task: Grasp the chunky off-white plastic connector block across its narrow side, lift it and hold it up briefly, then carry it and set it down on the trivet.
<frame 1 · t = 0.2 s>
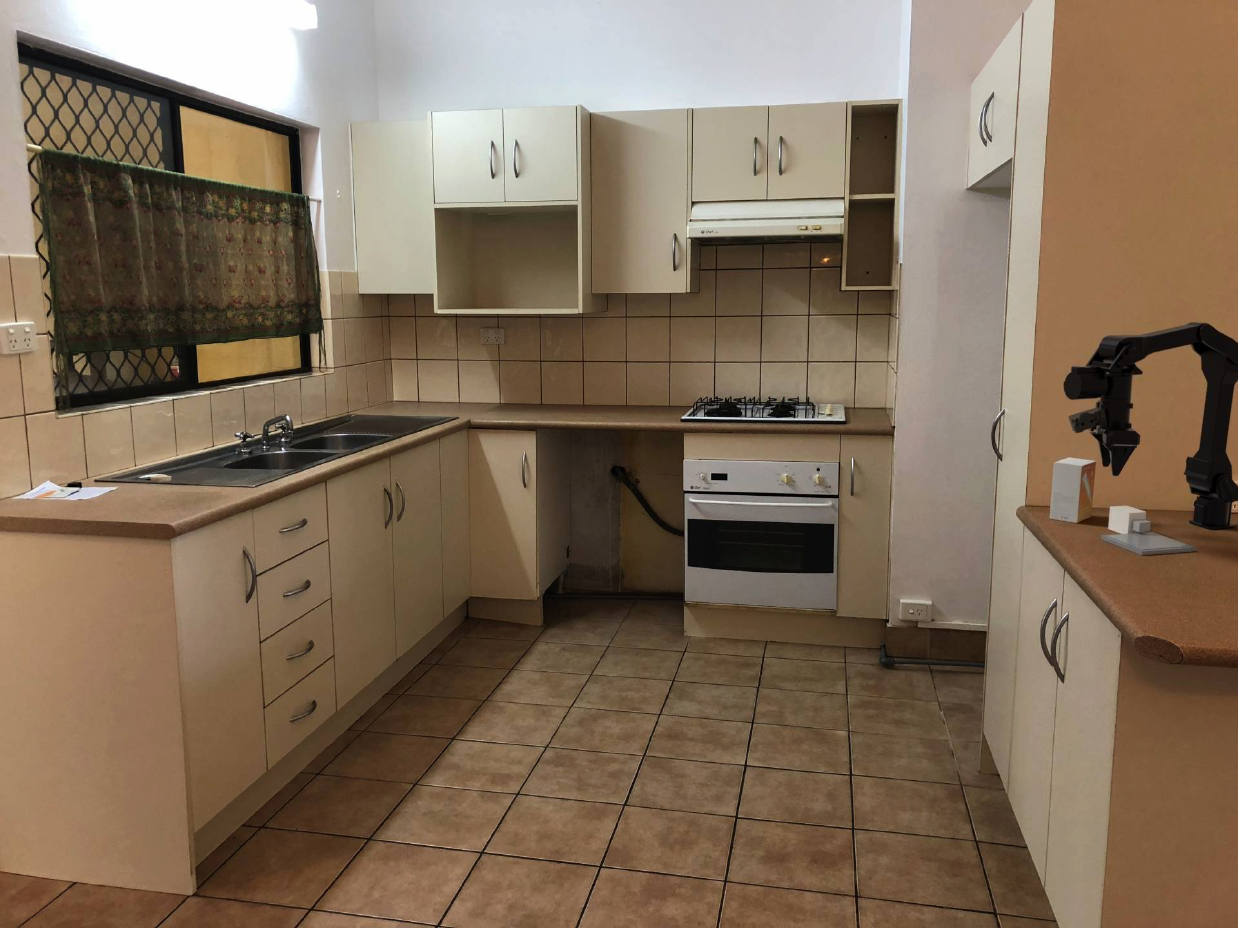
hand: (1110, 471, 207), 13 cm above the countertop, fingers open, 9 cm apart
connector: (1126, 532, 211), on the countertop
small box: (1070, 518, 223), on the countertop
trivet: (1146, 545, 201), on the countertop
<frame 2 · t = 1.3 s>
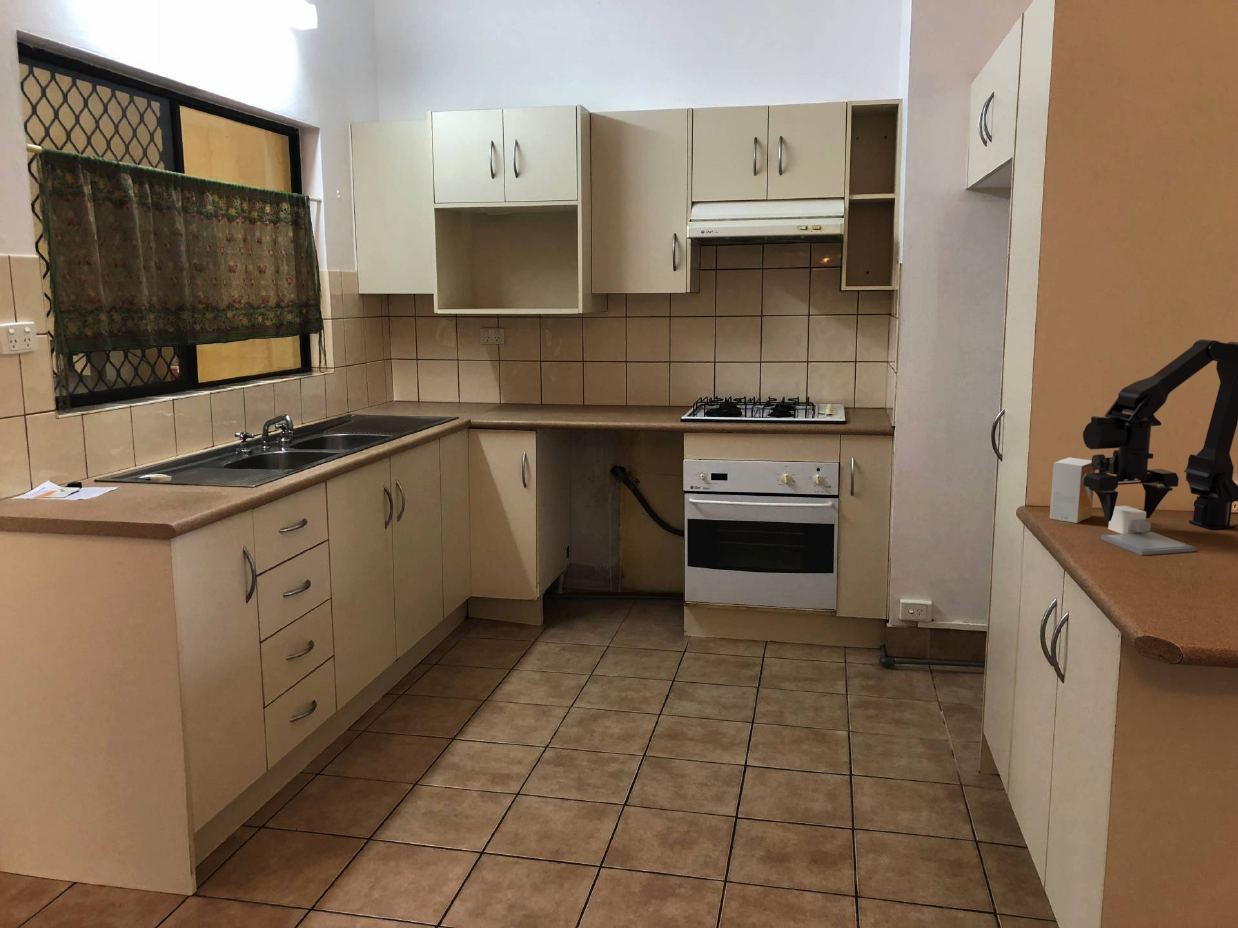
hand: (1127, 519, 210), 3 cm above the countertop, fingers open, 9 cm apart
nothing on the countertop moved.
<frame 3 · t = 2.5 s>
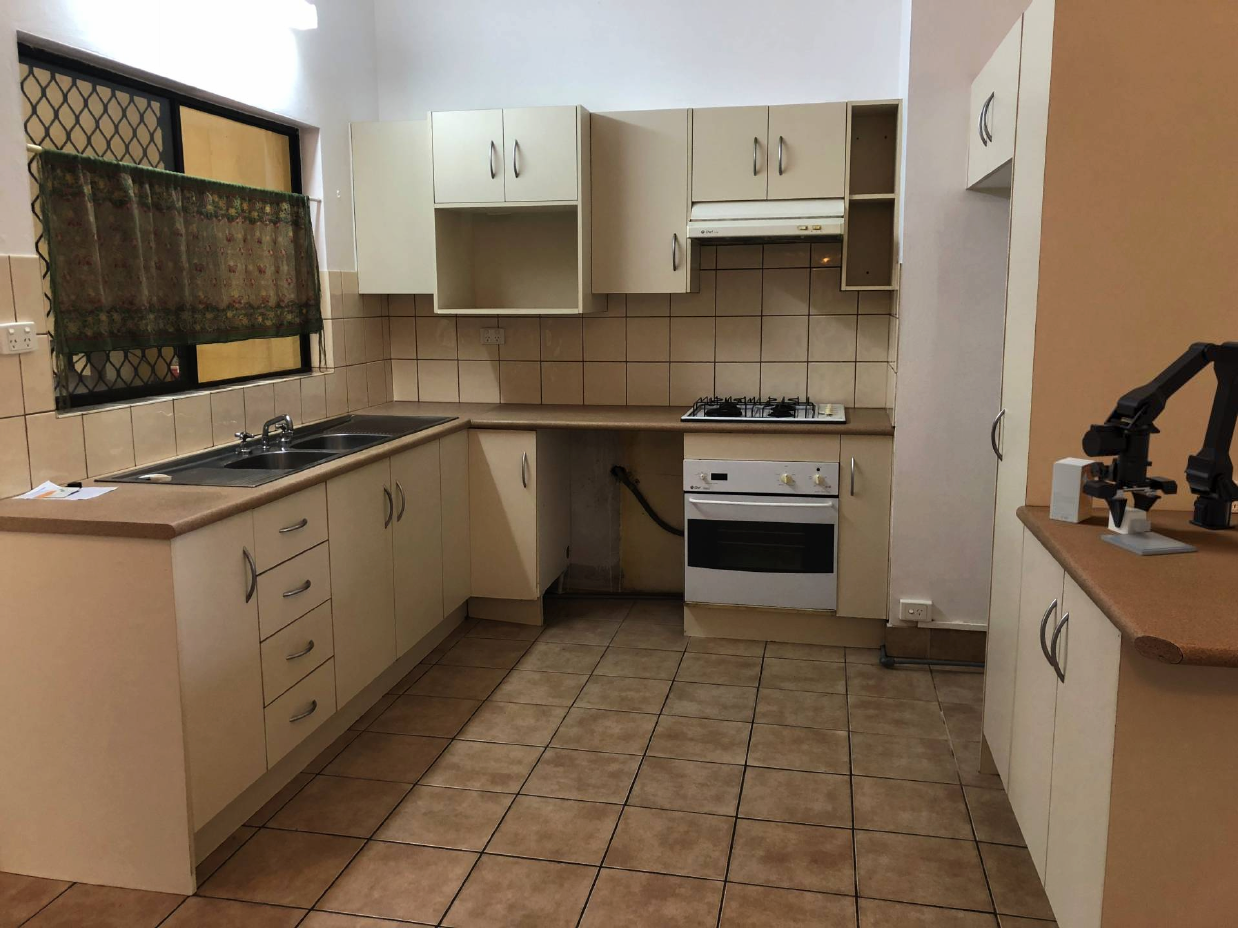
hand: (1126, 526, 211), 1 cm above the countertop, fingers closed on connector, 4 cm apart
connector: (1126, 531, 211), on the countertop, touching gripper
everything else where it was.
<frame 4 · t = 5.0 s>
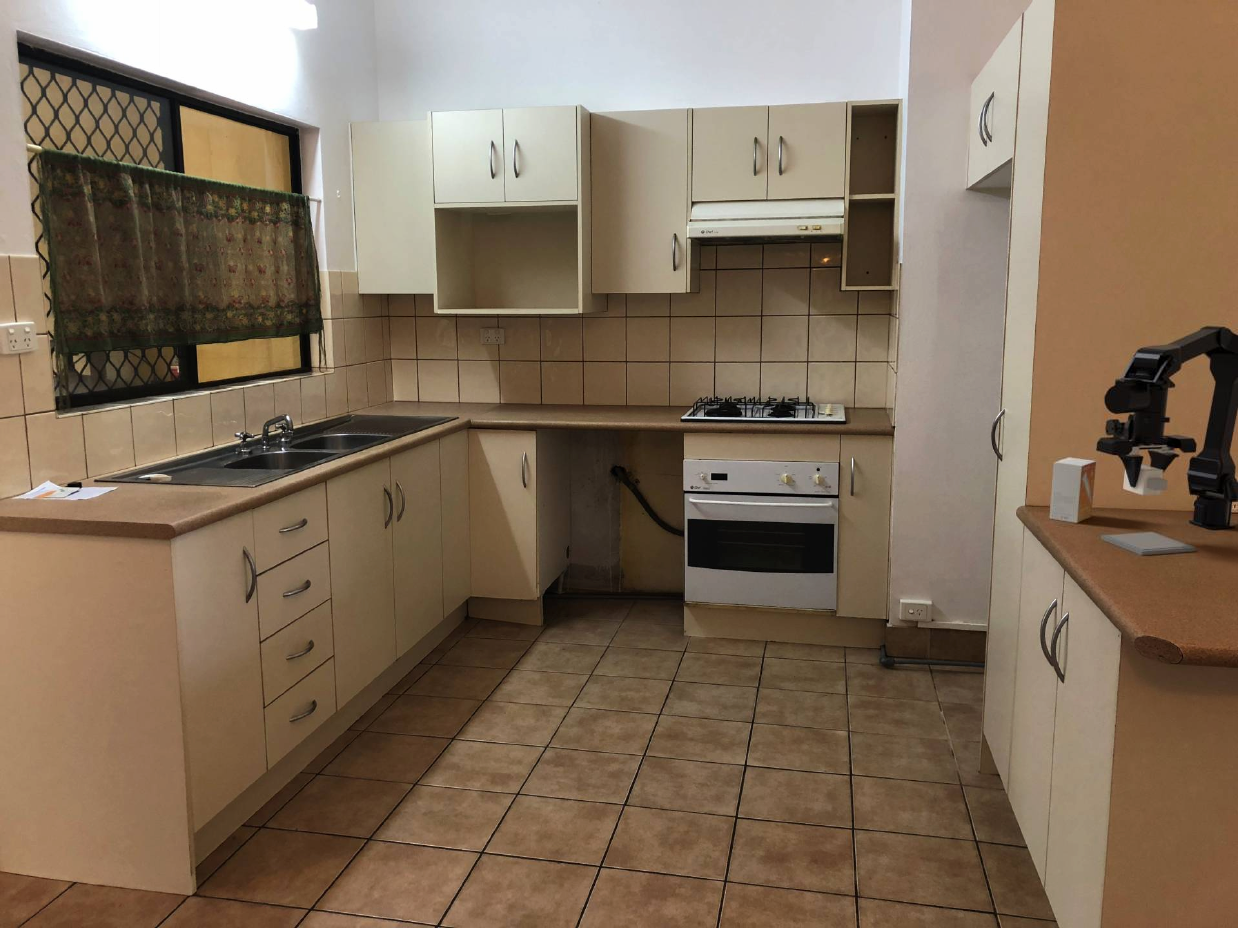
hand: (1142, 486, 202), 11 cm above the countertop, fingers closed on connector, 4 cm apart
connector: (1141, 491, 202), point 10 cm above the countertop, touching gripper
everything else where it was.
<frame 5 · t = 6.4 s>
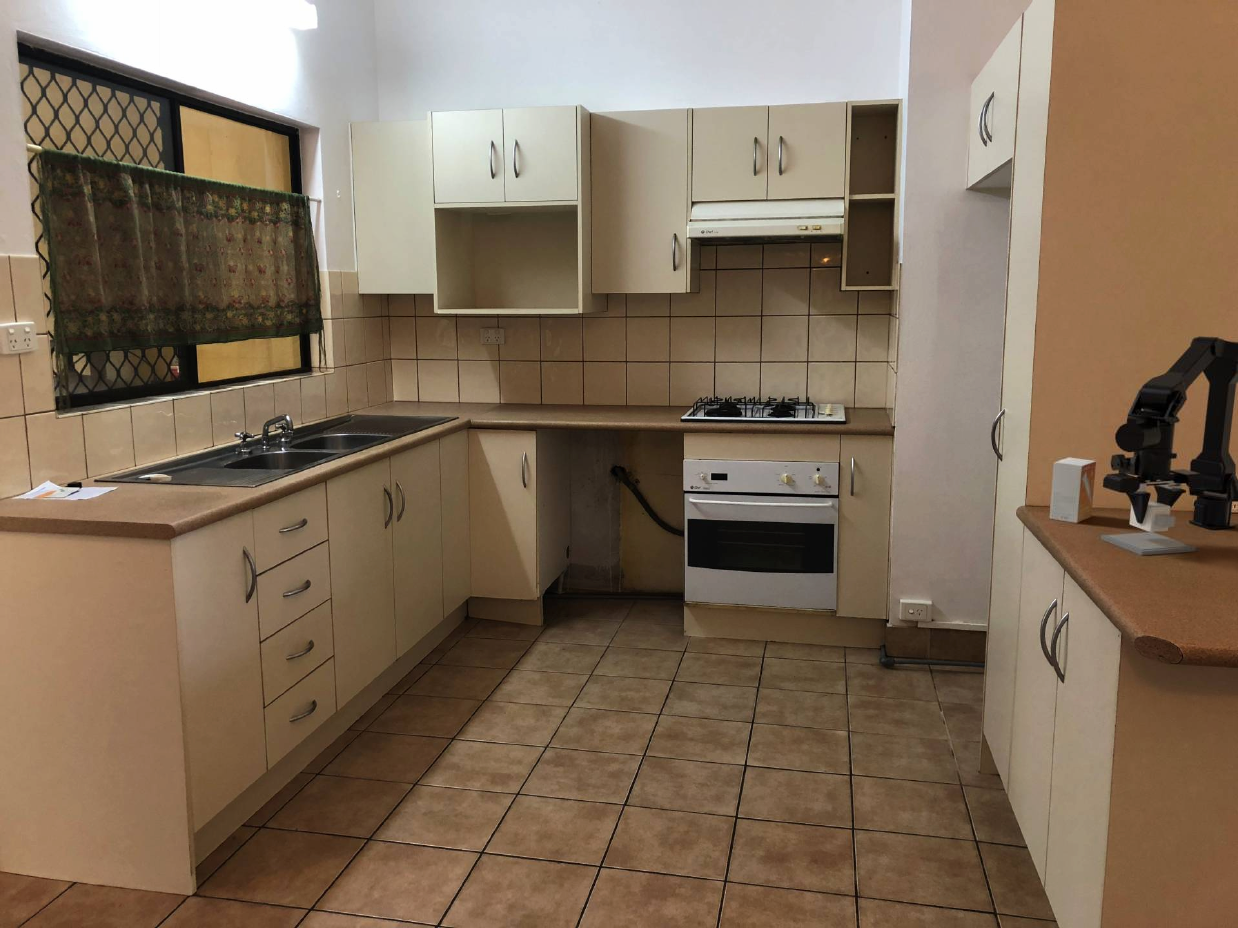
hand: (1149, 522, 200), 5 cm above the countertop, fingers closed on connector, 4 cm apart
connector: (1148, 527, 200), point 4 cm above the countertop, touching gripper
everything else where it was.
when the fingers open (2 cm above the countertop, at t = 7.6 s): connector stays where it is, resting on trivet.
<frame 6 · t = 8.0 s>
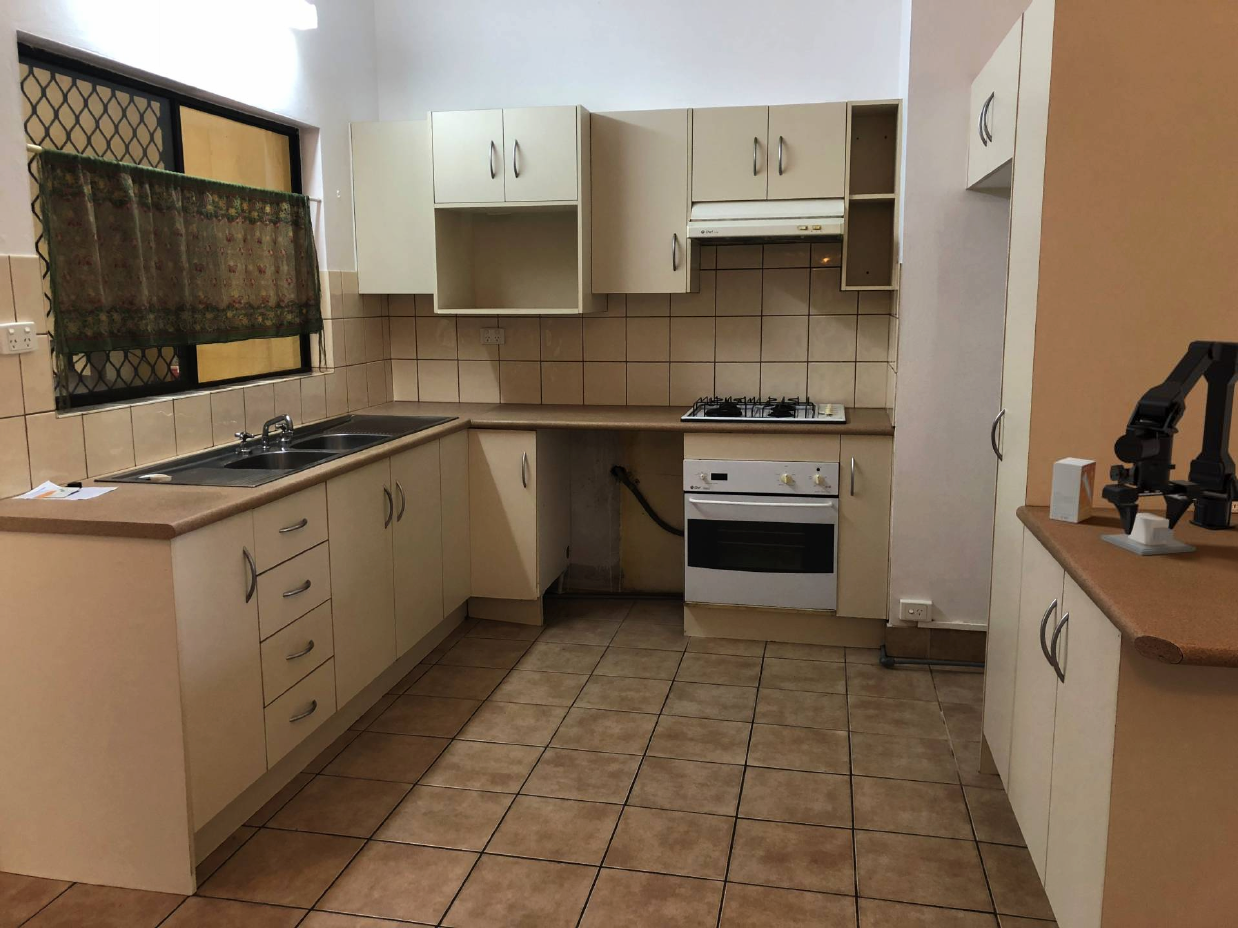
hand: (1148, 533, 200), 2 cm above the countertop, fingers open, 9 cm apart
connector: (1147, 540, 200), point 1 cm above the countertop, touching trivet
everything else where it was.
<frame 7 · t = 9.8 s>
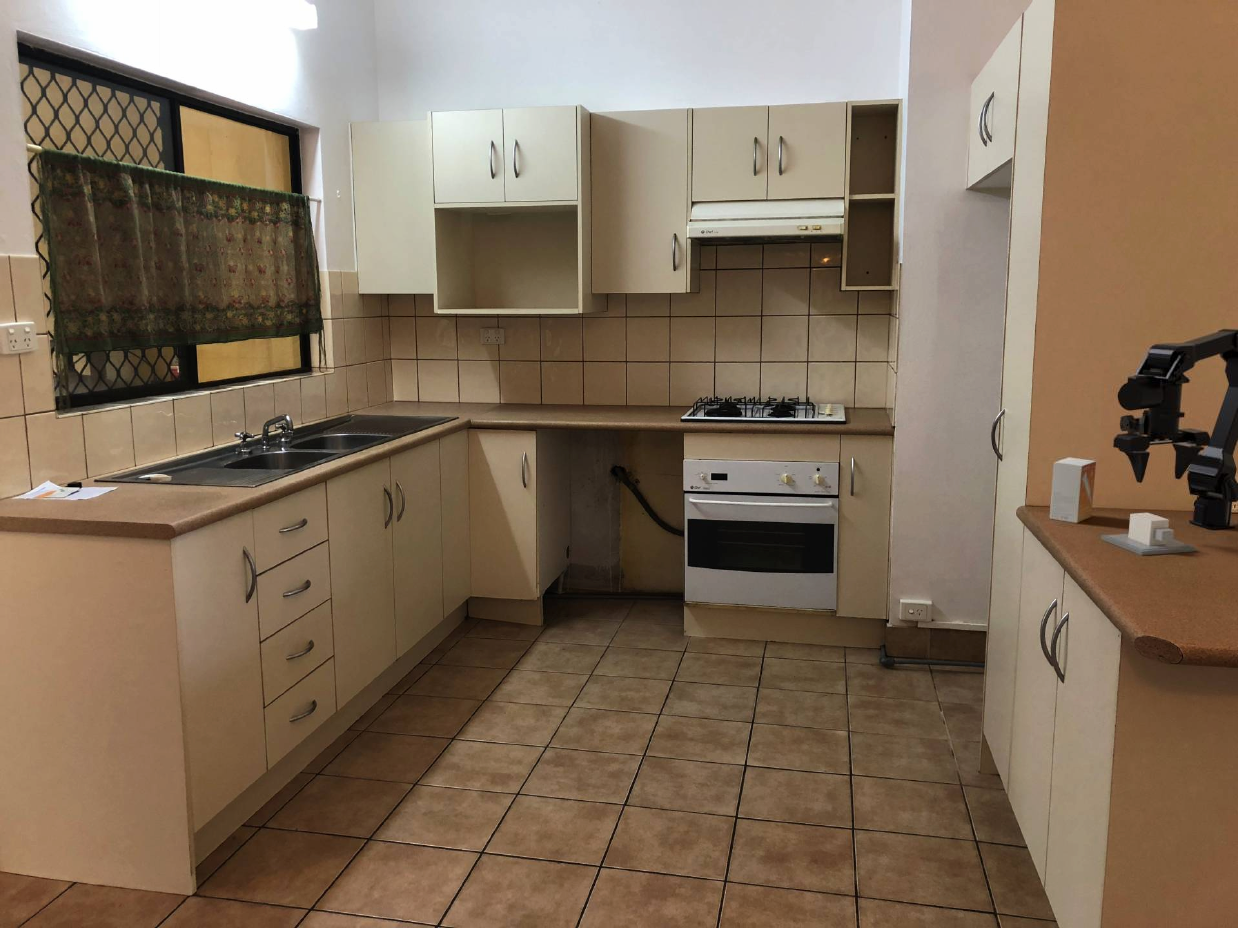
hand: (1158, 480, 206), 12 cm above the countertop, fingers open, 9 cm apart
nothing on the countertop moved.
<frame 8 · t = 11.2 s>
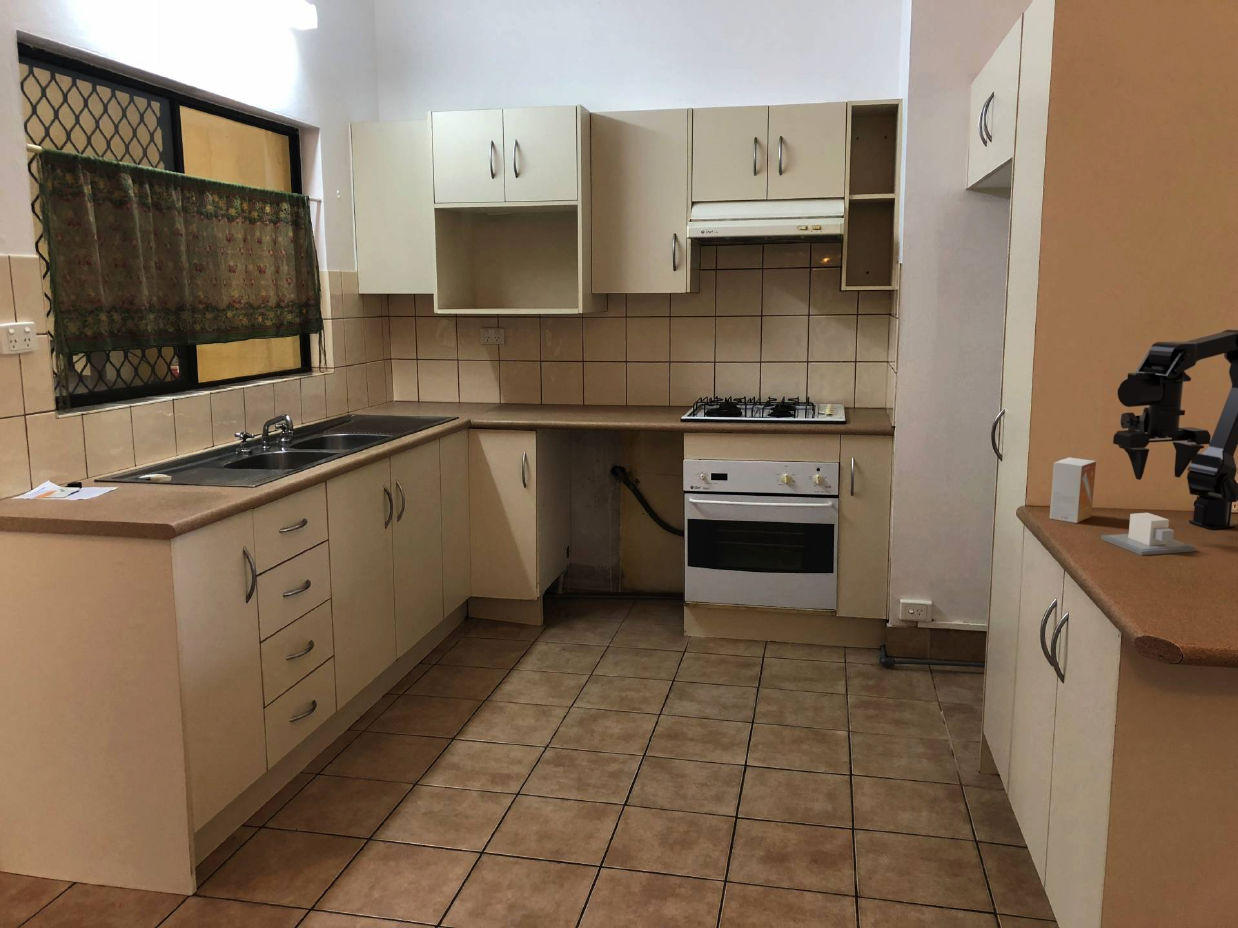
hand: (1157, 478, 206), 12 cm above the countertop, fingers open, 9 cm apart
nothing on the countertop moved.
at the end: connector inside the target area on the trivet (0.0 cm from its centre), point 0.9 cm above the trivet's base; connector tilted 0°; the gripper is holding nothing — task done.
